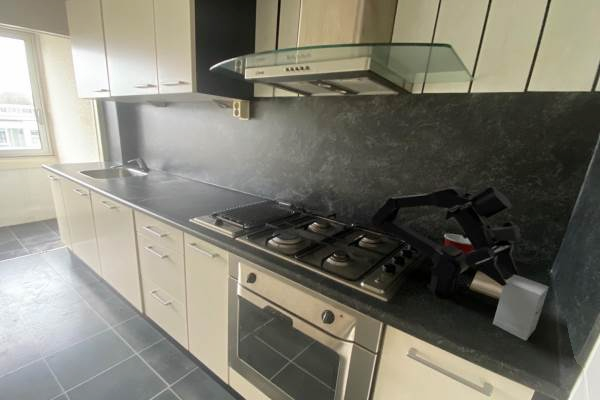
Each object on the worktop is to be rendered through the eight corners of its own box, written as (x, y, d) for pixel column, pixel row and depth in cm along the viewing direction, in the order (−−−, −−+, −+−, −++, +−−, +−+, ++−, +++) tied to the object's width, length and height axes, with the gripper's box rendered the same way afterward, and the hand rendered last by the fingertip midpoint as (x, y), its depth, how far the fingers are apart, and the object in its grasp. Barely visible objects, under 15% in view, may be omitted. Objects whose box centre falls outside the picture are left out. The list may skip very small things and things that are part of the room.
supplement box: (526, 342, 65) (541, 295, 62) (491, 324, 71) (503, 280, 68) (536, 330, 70) (550, 286, 67) (502, 314, 75) (513, 273, 72)
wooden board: (529, 310, 78) (530, 307, 78) (469, 288, 87) (469, 286, 87) (530, 289, 89) (531, 287, 89) (477, 272, 98) (477, 270, 98)
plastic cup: (470, 265, 104) (476, 236, 101) (472, 278, 94) (480, 245, 92) (438, 258, 109) (444, 229, 106) (438, 269, 99) (444, 238, 96)
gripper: (488, 217, 64) (534, 280, 58) (513, 207, 75) (555, 259, 70) (447, 237, 72) (485, 294, 66) (476, 226, 83) (510, 274, 78)
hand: (510, 280), depth 70 cm, fingers open, 9 cm apart
